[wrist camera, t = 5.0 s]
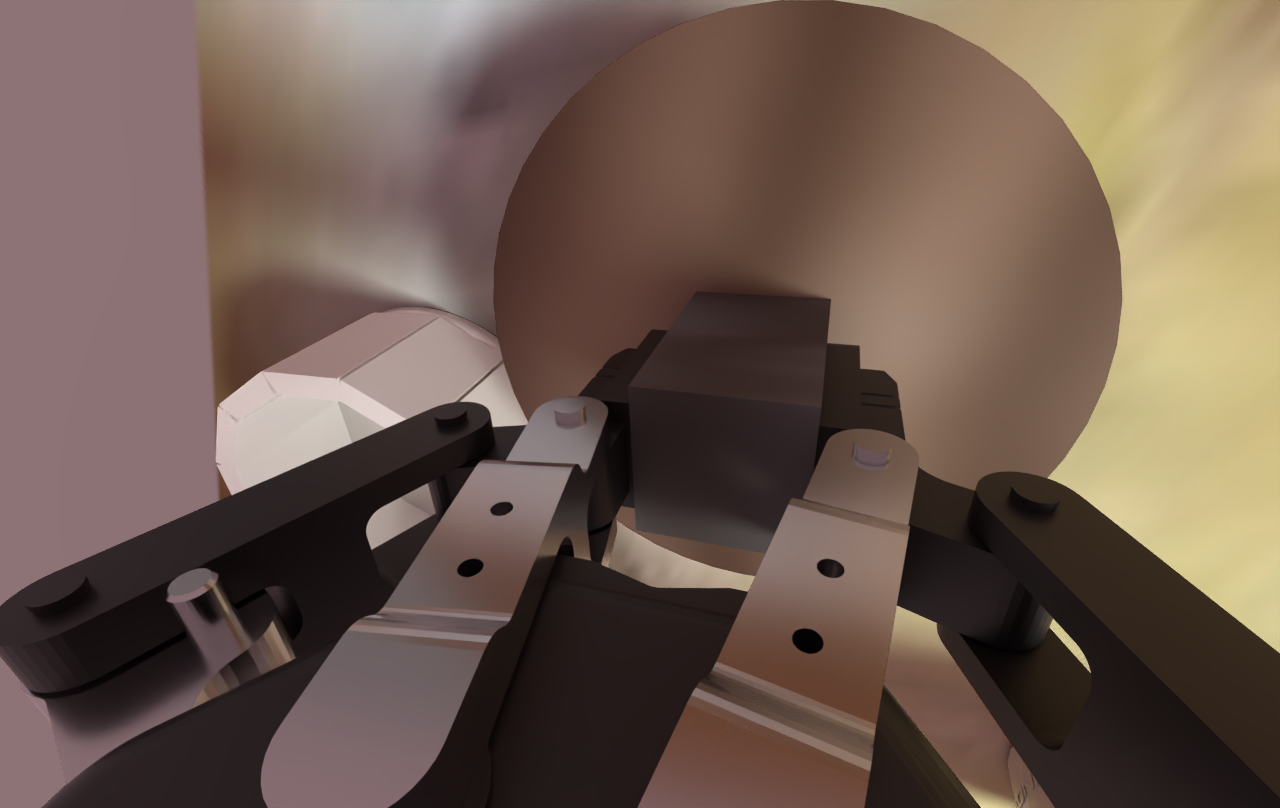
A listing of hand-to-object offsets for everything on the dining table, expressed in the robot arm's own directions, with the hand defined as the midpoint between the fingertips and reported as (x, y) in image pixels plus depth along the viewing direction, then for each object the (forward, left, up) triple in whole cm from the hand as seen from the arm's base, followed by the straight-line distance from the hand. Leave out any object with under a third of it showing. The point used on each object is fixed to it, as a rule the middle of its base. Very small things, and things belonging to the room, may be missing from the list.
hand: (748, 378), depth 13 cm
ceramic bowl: (+14, +7, -7) cm, 17 cm away
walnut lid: (0, 0, -2) cm, 2 cm away
